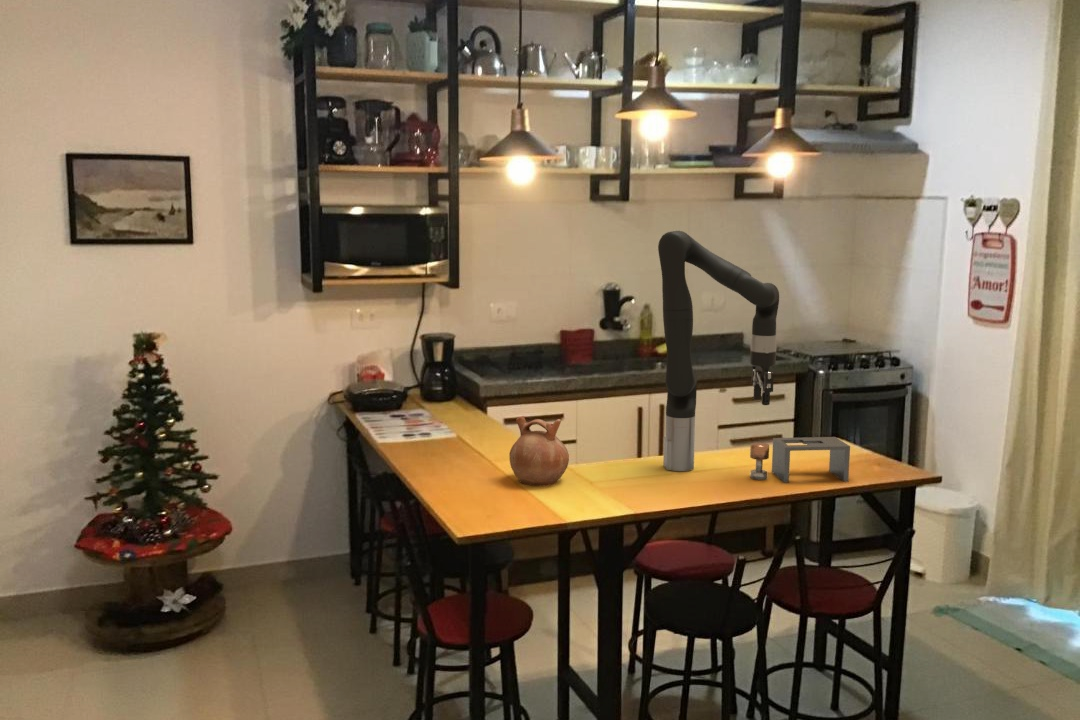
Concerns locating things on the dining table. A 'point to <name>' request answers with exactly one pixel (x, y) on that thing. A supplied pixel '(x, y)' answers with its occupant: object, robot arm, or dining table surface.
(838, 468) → the keyhole bridge
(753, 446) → the keyhole peg
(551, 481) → the jug
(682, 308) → the robot arm
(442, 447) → the dining table surface
